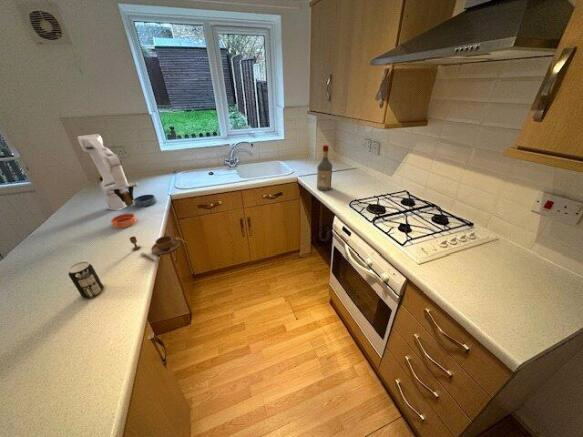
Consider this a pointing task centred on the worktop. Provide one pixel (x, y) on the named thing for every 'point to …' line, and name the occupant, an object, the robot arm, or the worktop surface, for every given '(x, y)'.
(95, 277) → the beverage can
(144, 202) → the blue bowl
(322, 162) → the liquor
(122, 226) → the terracotta bowl
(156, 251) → the place setting
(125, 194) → the spice jar
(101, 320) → the worktop surface
